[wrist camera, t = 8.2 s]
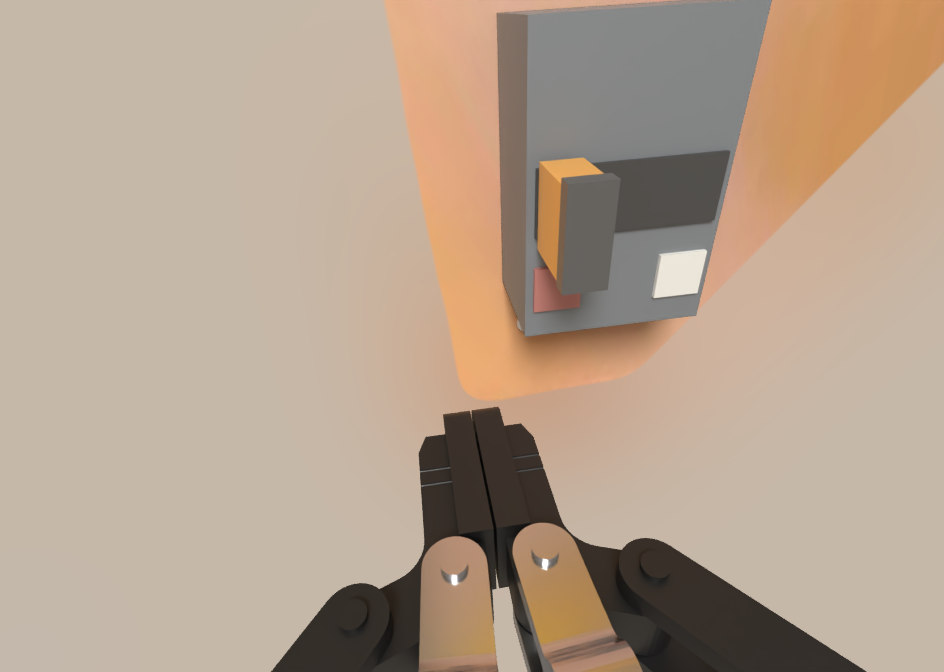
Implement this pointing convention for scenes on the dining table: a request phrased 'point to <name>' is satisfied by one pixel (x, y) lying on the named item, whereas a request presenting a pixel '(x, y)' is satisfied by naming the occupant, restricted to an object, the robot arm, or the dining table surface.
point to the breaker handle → (577, 223)
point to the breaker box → (624, 145)
